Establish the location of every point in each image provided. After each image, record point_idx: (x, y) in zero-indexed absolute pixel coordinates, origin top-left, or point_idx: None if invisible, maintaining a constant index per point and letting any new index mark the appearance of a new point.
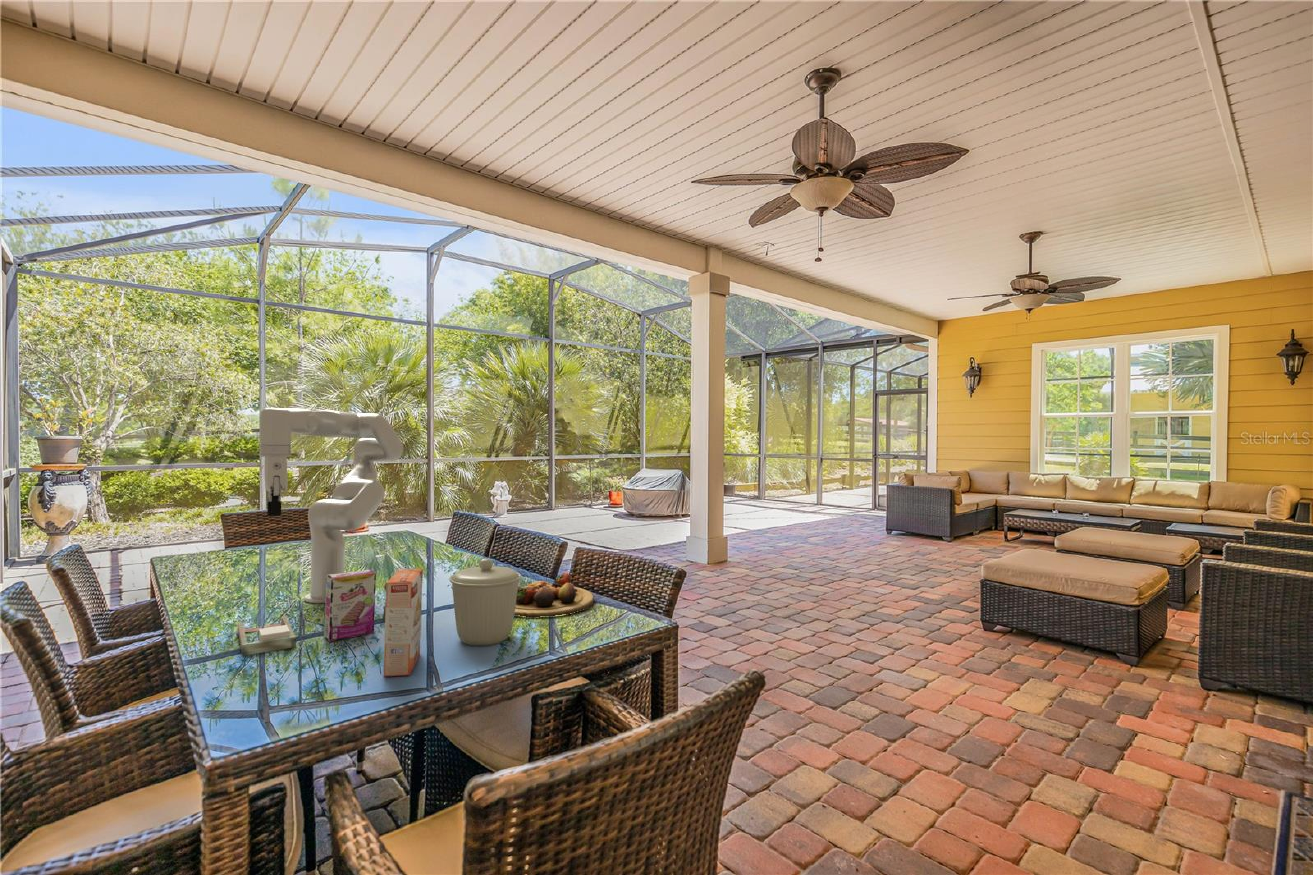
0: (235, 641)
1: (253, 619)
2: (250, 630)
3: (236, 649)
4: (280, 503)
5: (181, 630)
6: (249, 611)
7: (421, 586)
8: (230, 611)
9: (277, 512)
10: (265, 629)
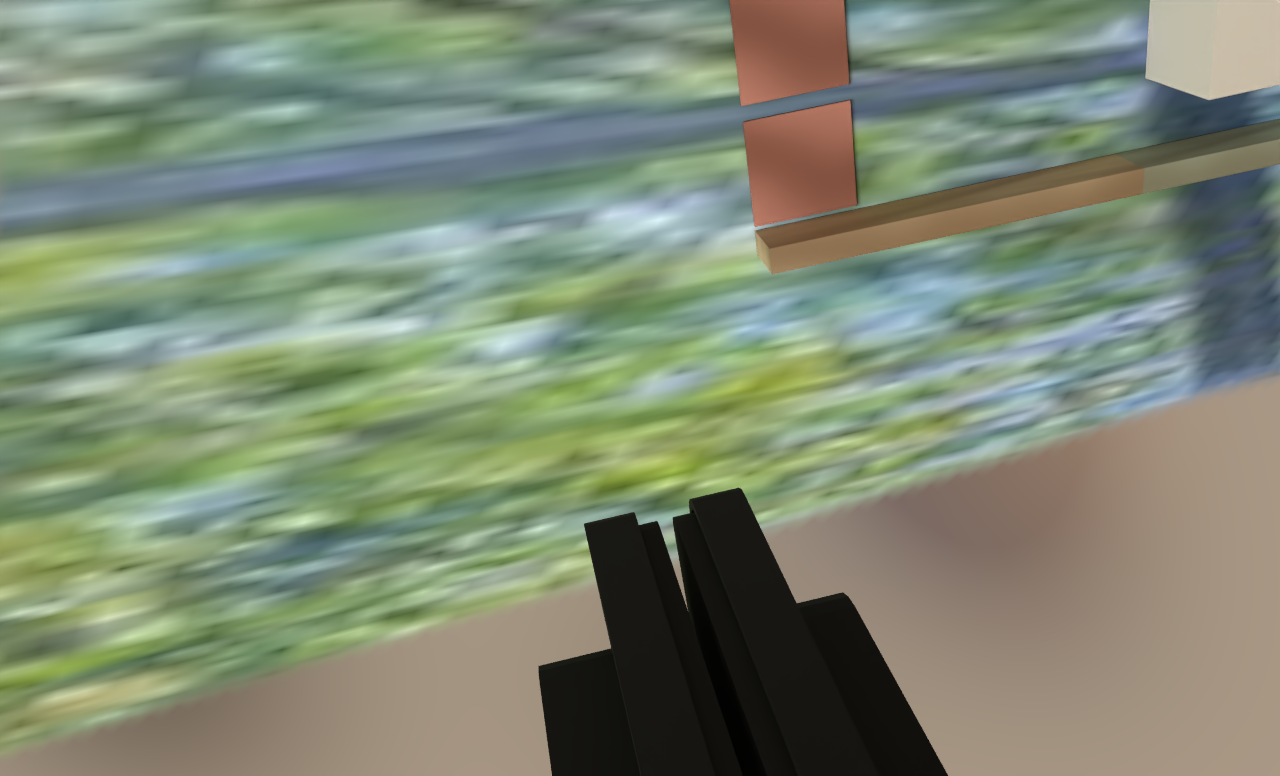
0: None
1: (513, 201)
2: (820, 173)
3: None
4: (857, 745)
5: None
6: (248, 268)
7: None
8: (209, 395)
9: (841, 594)
10: (1250, 55)
